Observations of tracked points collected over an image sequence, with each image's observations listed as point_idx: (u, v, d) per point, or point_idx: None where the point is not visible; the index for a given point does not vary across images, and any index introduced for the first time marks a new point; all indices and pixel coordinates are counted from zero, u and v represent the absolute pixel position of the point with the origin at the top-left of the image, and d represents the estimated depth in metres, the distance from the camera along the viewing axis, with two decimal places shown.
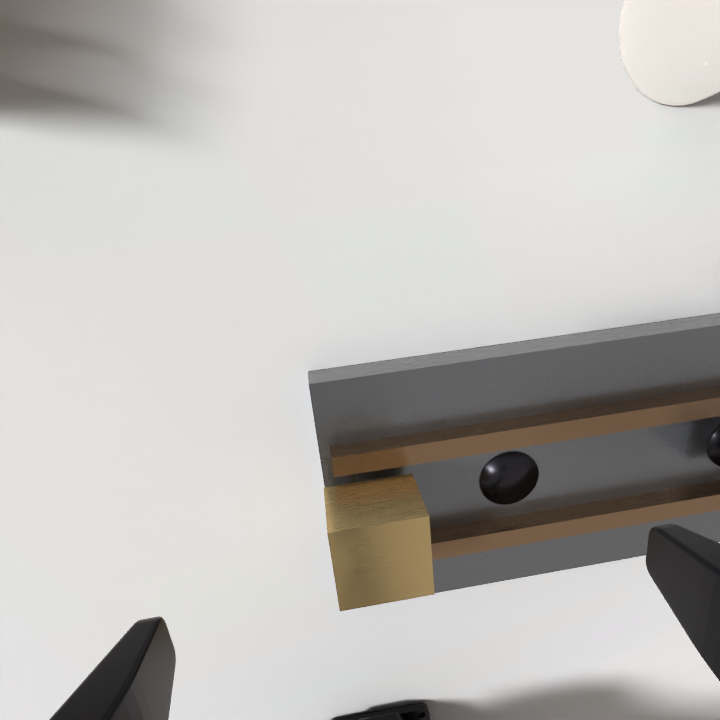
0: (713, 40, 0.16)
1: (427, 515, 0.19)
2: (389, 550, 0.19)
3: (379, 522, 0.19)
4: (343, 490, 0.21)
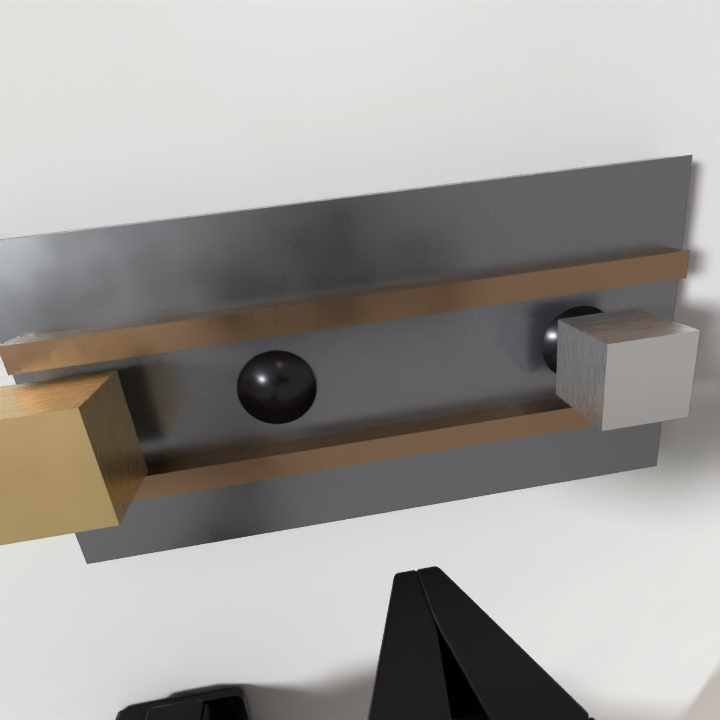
0: None
1: (76, 407, 0.13)
2: (32, 458, 0.14)
3: (7, 417, 0.13)
4: (11, 389, 0.16)
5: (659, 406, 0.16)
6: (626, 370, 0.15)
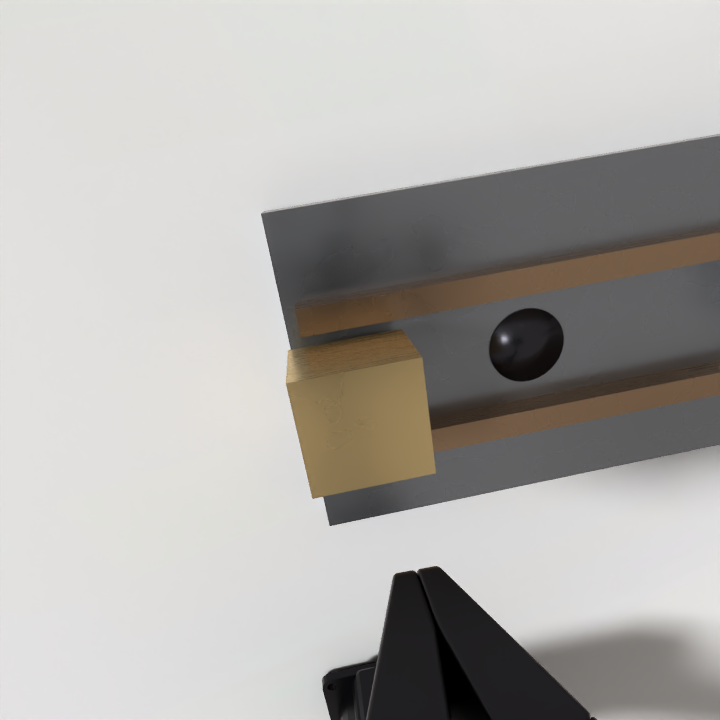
0: None
1: (419, 357, 0.14)
2: (372, 408, 0.14)
3: (355, 368, 0.14)
4: (312, 349, 0.16)
5: None
6: None
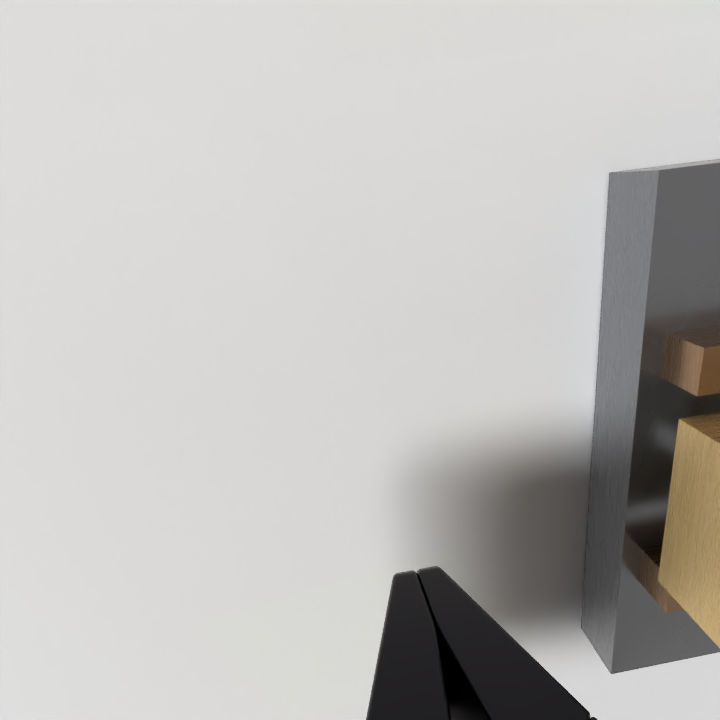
0: None
1: None
2: None
3: None
4: None
5: None
6: None
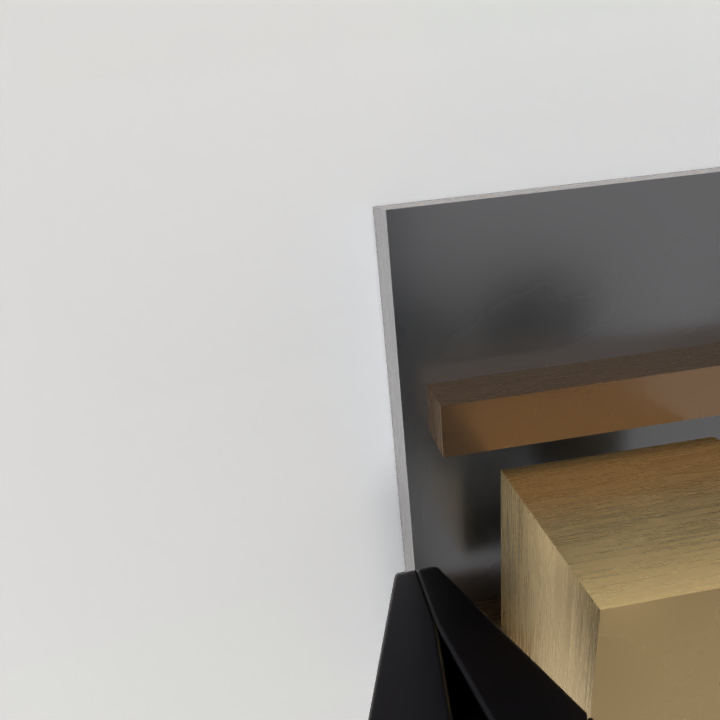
0: None
1: None
2: None
3: None
4: (559, 477, 0.08)
5: None
6: None
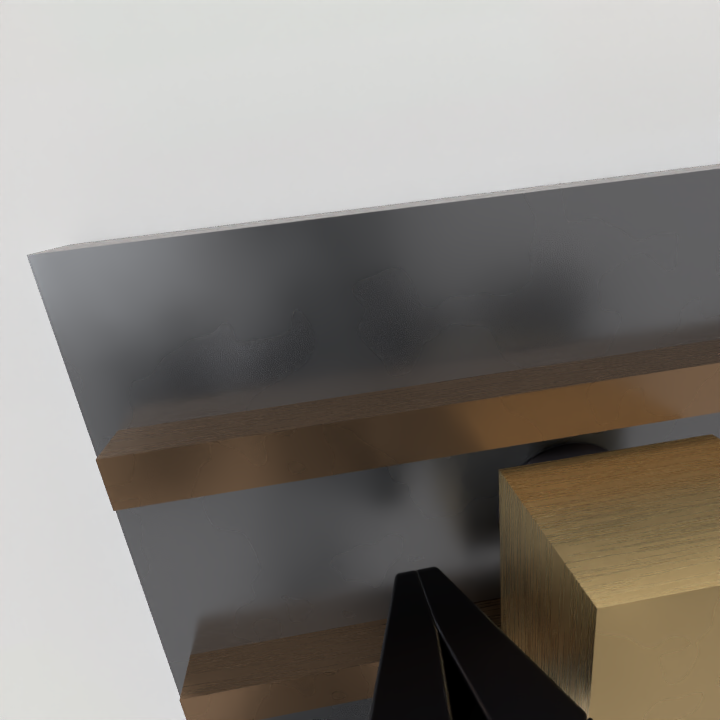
0: None
1: None
2: None
3: None
4: (557, 476, 0.08)
5: None
6: None
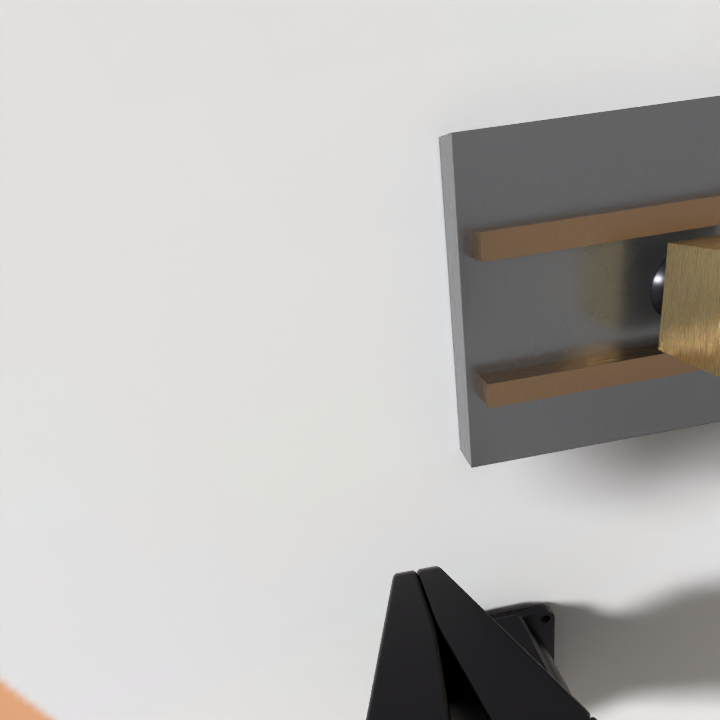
0: None
1: None
2: None
3: None
4: (700, 240, 0.16)
5: None
6: None
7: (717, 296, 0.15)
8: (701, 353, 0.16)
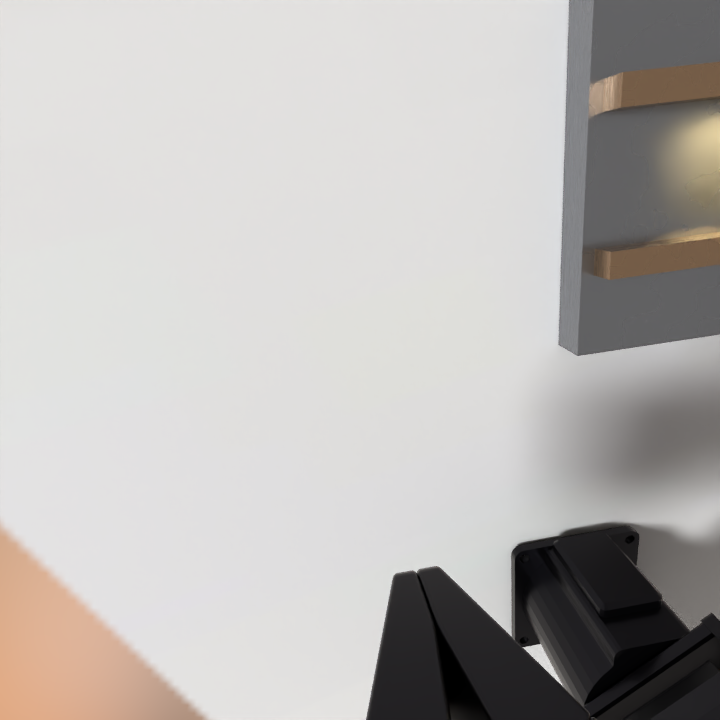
0: None
1: None
2: None
3: None
4: None
5: None
6: None
7: None
8: None
